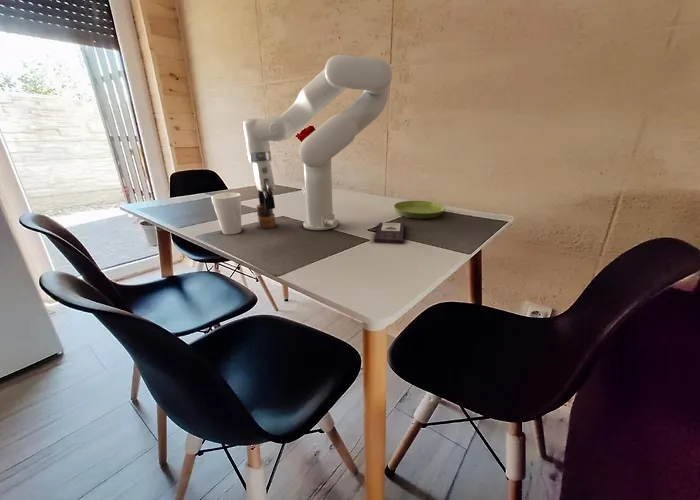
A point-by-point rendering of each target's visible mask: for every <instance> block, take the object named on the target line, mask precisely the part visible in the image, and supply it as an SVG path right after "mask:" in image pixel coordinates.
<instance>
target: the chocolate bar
mask: <svg viewBox="0 0 700 500" xmlns="http://www.w3.org/2000/svg"><path fill="white" fill-rule="evenodd" d="M404 232H405V222H404V223H402V222H401V223H400V222H399V223H398V222H378V227H377V229H376V232H375V236H374V238H373V241H374V243H387V244H388V243H390V244H404Z"/></svg>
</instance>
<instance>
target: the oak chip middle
mask: <svg viewBox="0 0 700 500" xmlns="http://www.w3.org/2000/svg"><path fill="white" fill-rule="evenodd" d="M257 221H258V223H259V222H260V223H270V222H273V221H275V222H276V215H275V213H273V215H272V216H268V217H259V216H258V215H257Z"/></svg>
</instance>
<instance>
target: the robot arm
mask: <svg viewBox="0 0 700 500" xmlns="http://www.w3.org/2000/svg"><path fill="white" fill-rule="evenodd" d="M392 80H393V70H392V67H391V65H390V64H389V63H388V62H387V61H386V60H384V59H383V58H378V57H369V56H360V55H351V54H350V55H349V54H335V55H333V56H331V57H329V59H328V60H327V61H326V63H325V66H324V69H323V70H321V71H320V72H319V73H318V74H317V75H316V76H315V77H314V78H312V79H311V80H310V81H308V83H307V84H306V85H304V86H303V88H301V90H300V91H299V93H298V95H297V98H296V99H295V100H294V102H293V103H292V104H291V105H290V107H288V108H287V109H286V110H285V111H284V112H283V113H282V114H280V115H279V116H271V117H267V118H247V119H244V120H243V124H242V125H243V132H244V138H245V143H246V151H247V156H248V162H249V164H252V171H253V177H254V182H255V187H256V189H257V193H258V195H257V196H258V201H259V204H265V208H266V210H268V209H273V210H274V209H276V204H275V198H274V193H273V192H274V191H275V190H276V185H275V181H274V174H273V169H272V166H271V162H272V153H271V146H270V142H282V141H287V140H288V139H290V138H291V137H292V136H294V135H295V134H296V133H297V132H298V131H300V129H302V128H303V127H304V126H305V125H307V124H308V122H309V121H311V120H312V119H313V118H315V117H316V116H317V115H318V114H319V113H321V111H322V110H324V109H325V108H327V106H328V105H329V104H330V103H332V102H333V101H334V100H335V99H336V98H337V97H338V96H340V95H341V94H342V93H343V92H344V91H346V90H347V89H352V90H359V91H360V90H361V91H362V93H361V95H360V96H359V97H358V98H356V99H355V100H354V101H353V102H352V103H351V104H350V105H348V106H347V107H346V108H345V109H344V110H342V111H341V112H339V113H336V114H333V115H332V116H331V117H329V118H328V119H327V120H325V121H324V122H323V123H322V124H320V125H319V126H318V127H317V128H316V129H315V130H313V131H312V132H311V133H310V134H309V135H308V136H306V137H305V138H304V139H303V140H302V141H301V142H300V144H299V147H298V156H299V159H300V160H301V163H303V176H304V193H305V206H306V209H305V210H306V220H305V221H304V222H303V223H302V225H303V228H304V229H307V230H310V231H326V230H331V229H334V228H337V226H338V224H339V219H338V218H335V214H334V209H333V208H334V207H333V178H332V158H334V157H335V156H337V154H339V153H340V152H341V151H342V150H344V149H346V147H348V146H349V145H350V144H352V142H353V141H354V140H355V138H356V137H357V135H359V133H361V132H362V131H363V130H364V129H366V128H367V127H369V125H370V124H371V123H372V122H374V121H375V120H376V119H377V118H378V117H379V116H380V115H381V114H382V112H383V111H384V109H385V107H386V105H387V104H388V103H387V102H388V99H389V86H390V85H391V82H392Z"/></svg>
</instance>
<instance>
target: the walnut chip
mask: <svg viewBox="0 0 700 500" xmlns="http://www.w3.org/2000/svg"><path fill="white" fill-rule="evenodd" d="M255 208H256V214H257V217H258V216H259V217H268V216H272V215H273V214H274V209H268V210H266V208H265V204H260V203H259V204H257V205H256V207H255Z"/></svg>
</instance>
